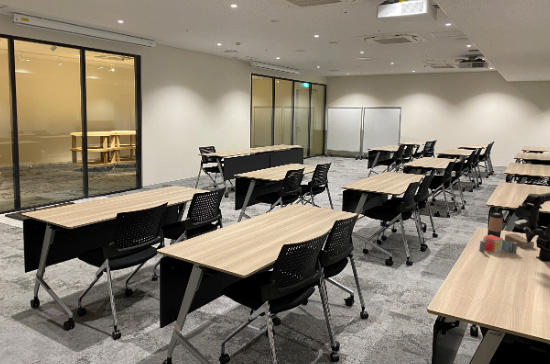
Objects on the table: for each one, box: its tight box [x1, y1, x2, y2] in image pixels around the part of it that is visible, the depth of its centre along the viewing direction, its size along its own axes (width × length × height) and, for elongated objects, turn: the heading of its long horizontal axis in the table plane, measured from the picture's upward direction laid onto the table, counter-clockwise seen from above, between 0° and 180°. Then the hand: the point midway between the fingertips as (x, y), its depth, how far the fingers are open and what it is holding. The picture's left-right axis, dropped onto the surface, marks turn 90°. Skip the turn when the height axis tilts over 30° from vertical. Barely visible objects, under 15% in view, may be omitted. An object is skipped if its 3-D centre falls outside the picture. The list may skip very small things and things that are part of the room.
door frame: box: [478, 240, 518, 254], centre depth 260 cm, size 2×21×6 cm, turn 88°
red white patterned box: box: [482, 234, 504, 253], centre depth 264 cm, size 8×8×8 cm
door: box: [501, 239, 513, 254], centre depth 265 cm, size 3×16×6 cm, turn 35°
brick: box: [504, 233, 535, 249], centre depth 277 cm, size 17×8×5 cm, turn 14°
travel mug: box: [486, 211, 504, 238], centre depth 276 cm, size 8×8×20 cm
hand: (528, 242), depth 244 cm, fingers closed
